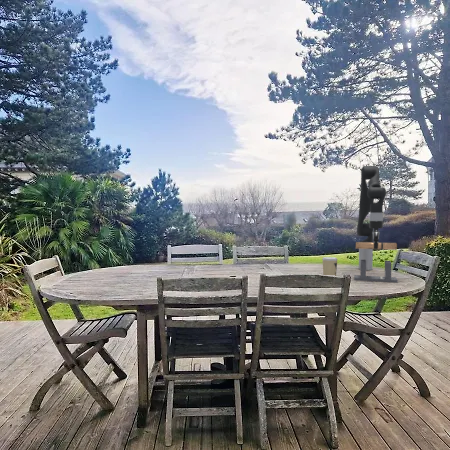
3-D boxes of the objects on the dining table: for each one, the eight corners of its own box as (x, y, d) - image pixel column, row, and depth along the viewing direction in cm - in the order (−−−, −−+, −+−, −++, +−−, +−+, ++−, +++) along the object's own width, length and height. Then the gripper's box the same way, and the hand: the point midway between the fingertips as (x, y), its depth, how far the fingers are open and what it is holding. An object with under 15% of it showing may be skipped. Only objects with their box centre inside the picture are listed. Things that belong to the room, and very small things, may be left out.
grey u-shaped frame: (354, 277, 239) (354, 259, 239) (396, 279, 231) (396, 261, 231) (354, 280, 230) (354, 261, 229) (397, 282, 222) (397, 263, 221)
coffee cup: (338, 278, 237) (338, 258, 236) (322, 277, 238) (323, 258, 238) (336, 275, 246) (336, 257, 246) (321, 275, 248) (321, 256, 247)
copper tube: (355, 248, 232) (355, 242, 231) (355, 248, 235) (355, 241, 235) (396, 250, 224) (396, 243, 224) (396, 249, 228) (396, 242, 228)
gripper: (369, 220, 237) (368, 247, 238) (369, 220, 224) (369, 249, 224) (382, 220, 235) (381, 247, 235) (383, 220, 221) (383, 249, 222)
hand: (375, 248), depth 230 cm, fingers closed on copper tube, 4 cm apart
